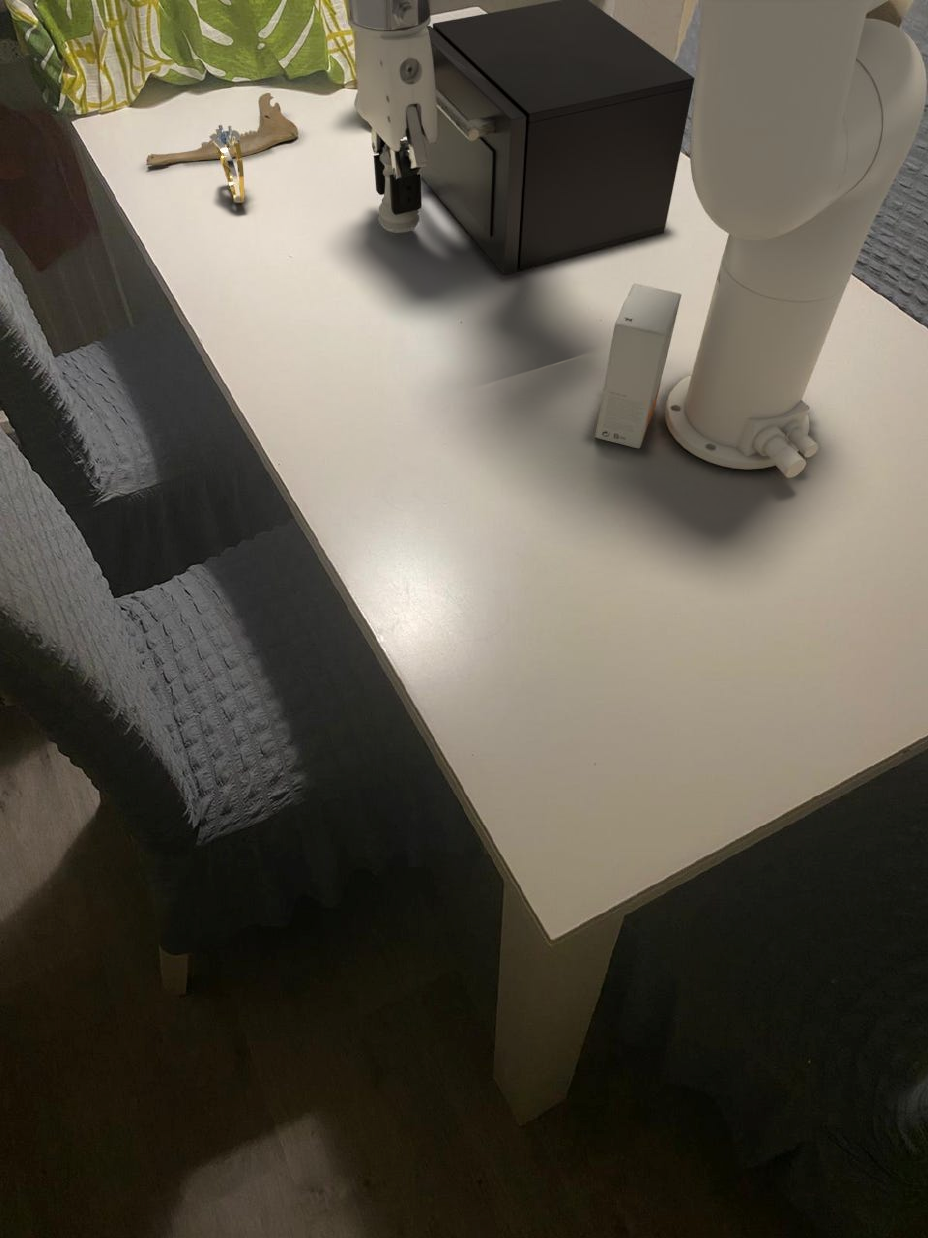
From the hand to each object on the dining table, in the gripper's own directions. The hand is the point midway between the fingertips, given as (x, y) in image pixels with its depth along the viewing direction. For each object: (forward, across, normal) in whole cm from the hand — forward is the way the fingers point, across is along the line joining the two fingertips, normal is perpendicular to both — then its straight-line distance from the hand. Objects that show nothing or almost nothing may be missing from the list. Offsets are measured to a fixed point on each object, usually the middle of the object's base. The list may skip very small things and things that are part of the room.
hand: (398, 198), depth 95 cm
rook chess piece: (+3, 0, 0) cm, 3 cm away
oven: (+5, 0, -18) cm, 19 cm away
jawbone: (+5, +30, +12) cm, 33 cm away
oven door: (+4, 0, -6) cm, 8 cm away
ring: (+5, +15, +14) cm, 21 cm away
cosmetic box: (+5, -36, -7) cm, 37 cm away
